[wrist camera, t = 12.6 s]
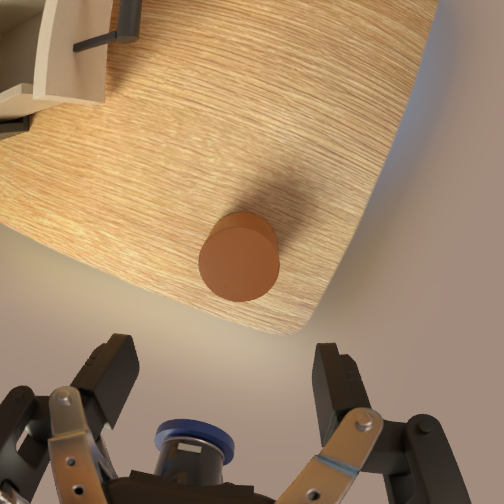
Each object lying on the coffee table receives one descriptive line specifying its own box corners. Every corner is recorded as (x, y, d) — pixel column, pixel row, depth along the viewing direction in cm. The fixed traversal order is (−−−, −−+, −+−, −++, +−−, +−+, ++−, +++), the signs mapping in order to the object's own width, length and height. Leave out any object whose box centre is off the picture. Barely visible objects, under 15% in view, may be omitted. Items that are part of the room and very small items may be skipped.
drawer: (169, -36, 15) (139, -83, 8) (160, 94, 20) (113, 75, 12) (7, 26, 16) (-40, 15, 9) (-3, 134, 21) (-58, 142, 13)
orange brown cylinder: (276, 276, 26) (278, 302, 22) (210, 275, 26) (201, 301, 22) (277, 212, 24) (280, 227, 20) (207, 212, 24) (195, 226, 20)
